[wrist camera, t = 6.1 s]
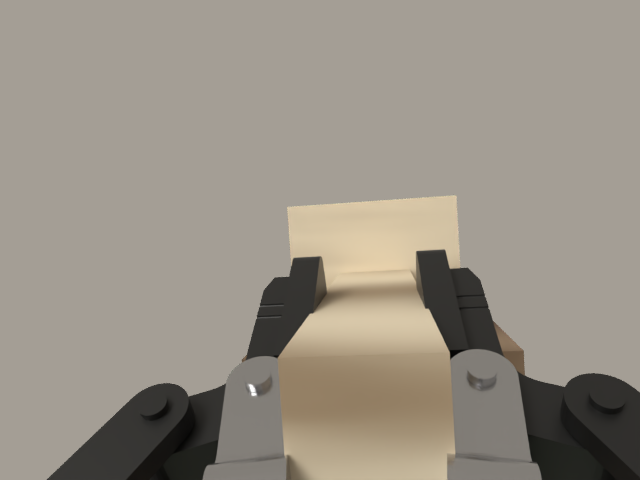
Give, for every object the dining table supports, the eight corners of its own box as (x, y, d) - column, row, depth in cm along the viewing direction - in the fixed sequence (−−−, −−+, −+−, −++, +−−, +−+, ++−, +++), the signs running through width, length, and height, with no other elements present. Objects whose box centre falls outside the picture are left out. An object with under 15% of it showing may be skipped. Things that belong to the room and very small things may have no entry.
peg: (587, 524, 7) (571, 167, 7) (177, 521, 8) (152, 197, 8) (444, 306, 24) (437, 199, 24) (317, 311, 25) (310, 208, 25)
